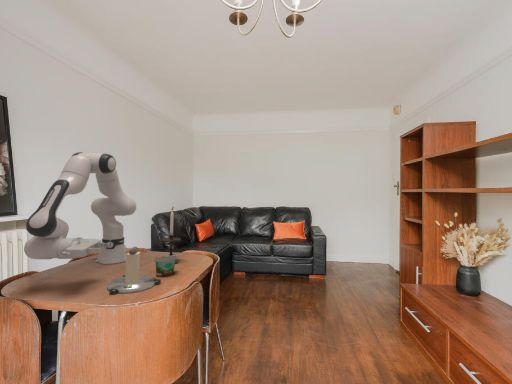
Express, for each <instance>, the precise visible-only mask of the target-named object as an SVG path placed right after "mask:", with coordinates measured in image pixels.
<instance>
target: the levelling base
mask: <svg viewBox="0 0 512 384" xmlns="http://www.w3.org/2000/svg"><path fill="white" fill-rule="evenodd" d="M125 277H126V274H124V275H122V276H121V277H118V278H115V279H112V280H110V281H109V282H108V283H107V291H108V292H109V293H108V294H109V295H110V296H113V295H118V294H134V293H139V292H143V291H147V290H149V289H152V288H154V286H158V285H161V283H162V282H161V279H157V278H156V277H155V276H153V275H149V274H148V275H147V274H140V280H139V281H138V283H131V284H125Z"/></svg>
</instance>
